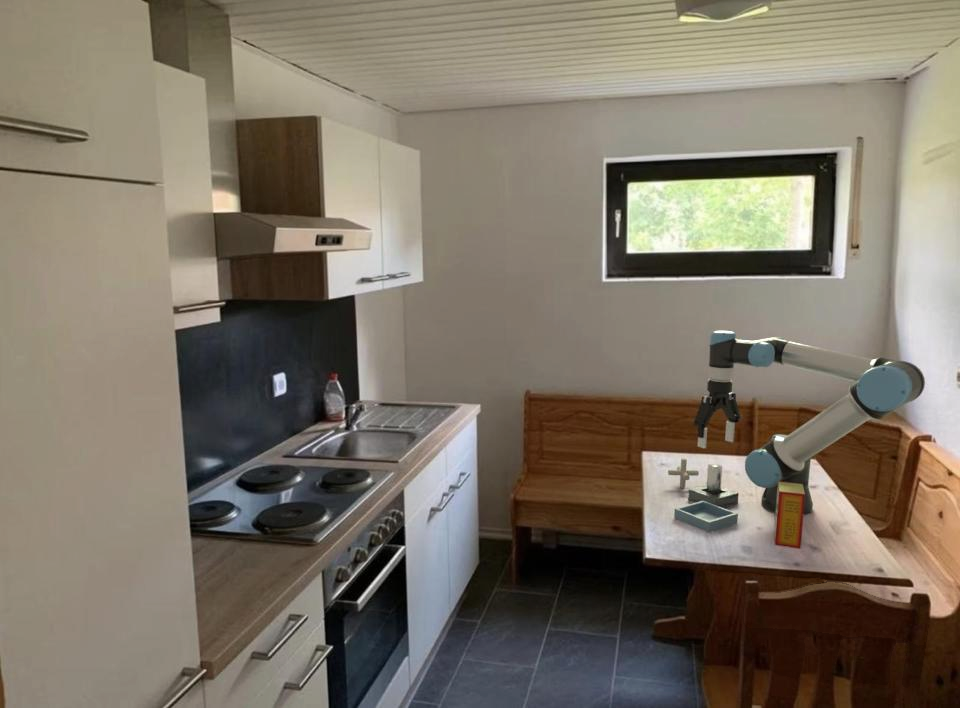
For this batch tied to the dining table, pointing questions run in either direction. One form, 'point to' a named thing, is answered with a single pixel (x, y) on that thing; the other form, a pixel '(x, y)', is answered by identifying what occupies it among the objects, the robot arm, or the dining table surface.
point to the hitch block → (713, 496)
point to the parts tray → (706, 516)
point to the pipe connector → (683, 472)
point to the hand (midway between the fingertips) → (715, 444)
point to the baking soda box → (789, 514)
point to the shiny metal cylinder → (714, 479)
